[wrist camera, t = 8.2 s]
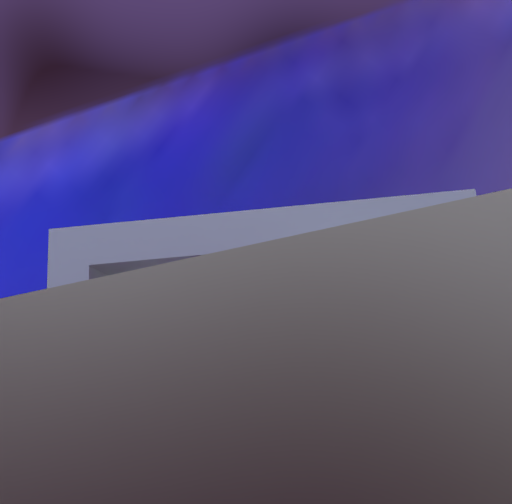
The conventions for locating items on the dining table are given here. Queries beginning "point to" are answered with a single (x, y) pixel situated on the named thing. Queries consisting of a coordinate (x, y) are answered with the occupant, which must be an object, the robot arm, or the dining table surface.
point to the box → (206, 234)
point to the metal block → (274, 371)
